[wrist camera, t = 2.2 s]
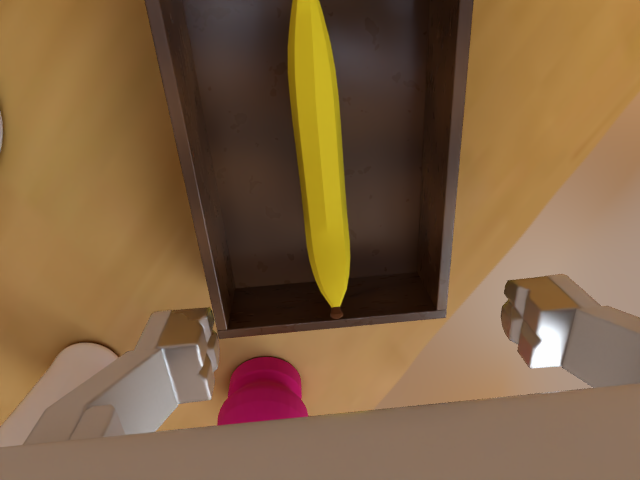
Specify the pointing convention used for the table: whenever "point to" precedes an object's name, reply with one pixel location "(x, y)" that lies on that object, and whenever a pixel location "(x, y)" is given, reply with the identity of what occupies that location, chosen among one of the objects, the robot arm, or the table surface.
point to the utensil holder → (1, 131)
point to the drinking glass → (54, 388)
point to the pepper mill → (263, 393)
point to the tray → (281, 159)
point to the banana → (319, 149)
